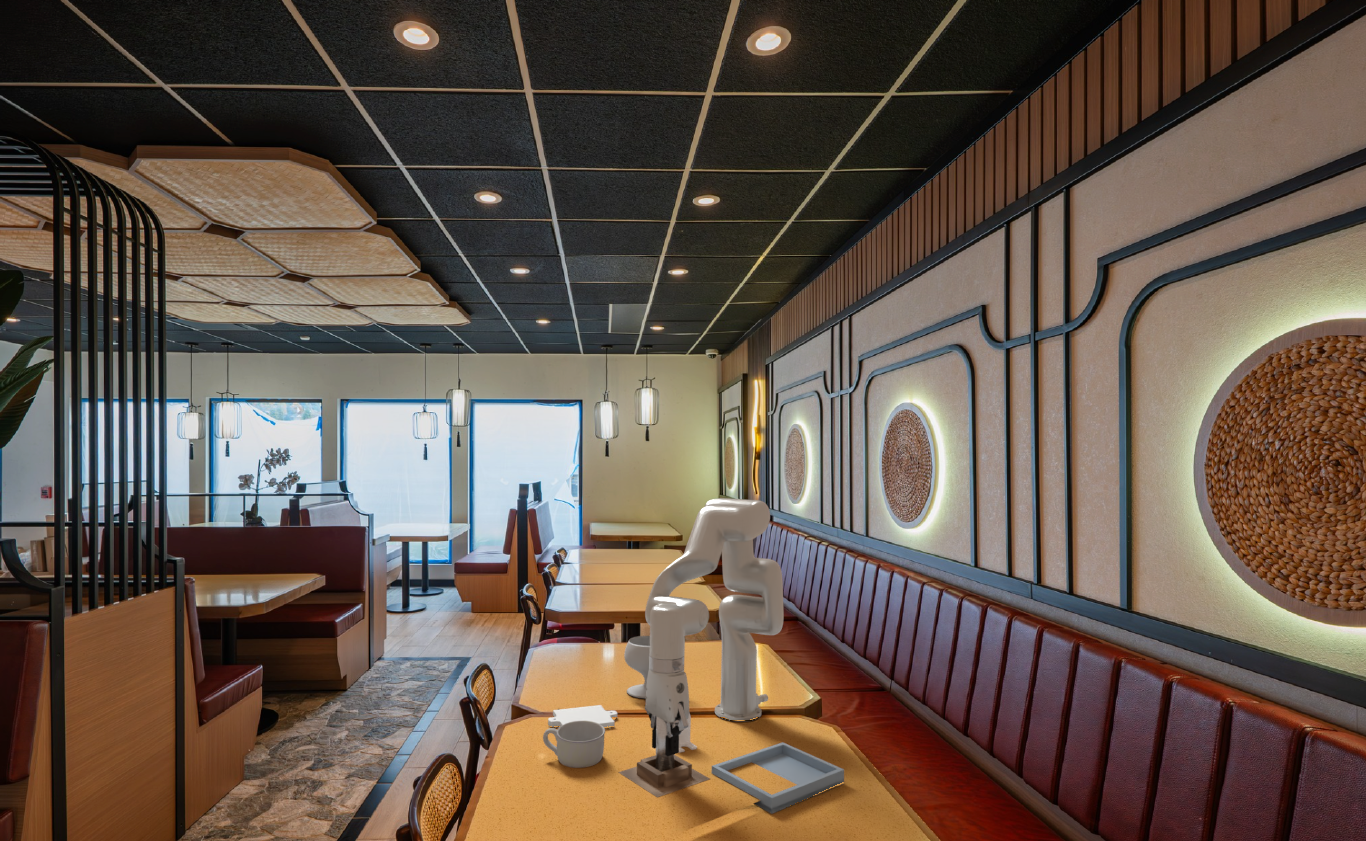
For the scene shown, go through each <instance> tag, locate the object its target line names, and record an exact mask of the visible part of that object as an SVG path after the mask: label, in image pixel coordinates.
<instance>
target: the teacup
mask: <svg viewBox="0 0 1366 841" xmlns="http://www.w3.org/2000/svg"><path fill="white" fill-rule="evenodd" d="M549 734H551V735H552V734H553V736H554V737H555V738H554V739H555V741H556V745H554V744H553V743H552V742H551V741H550V740H549V737H548V735H549ZM605 734H606V729H605V728H604V727H603V726H602V725H600V724H598V723H596V722H592V721H573V722H569V723H566V724H564V725H562V726H561V727H557V729H556V727H555V728H550V727H548V728H547V729H546V730H544V732H543V736H542V740H543V743H544V745H545V747H547V748H548V749H550V750H551V751H552V752H554V754H555V756H556V757H557V760H558V761H559V763H560V764H561V765H563V766H565V767H568V768H573V769H574V768H575V769H577V768H579V769H580V768H581V769H583V768H588V767H591V766H595V765H597V764H598V763H599V762H601V760H602V759H603V755H604V750H605Z"/></svg>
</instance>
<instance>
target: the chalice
mask: <svg viewBox="0 0 1366 841" xmlns="http://www.w3.org/2000/svg"><path fill="white" fill-rule="evenodd" d="M624 649H625V650H624V654H623V656H624V661H625V663H626V665H627V666H628V667H630V668H631V669H632V670H634V671H637V672H638V673H639V674H641V676H643V680H644V682H643V684H636V685H632V686H630V687H628V688H627V689H626V694H628V695H629V696H632V697H633V698H637V699H638V698H639V699H646V686H647V677H648V671H649V655H650V635H638V636H633V637H631V638H630V639H629V640H628V642H627V643H626V646H625V648H624Z"/></svg>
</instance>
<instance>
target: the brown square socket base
mask: <svg viewBox="0 0 1366 841" xmlns="http://www.w3.org/2000/svg"><path fill="white" fill-rule="evenodd" d="M618 774H620V775H621V776H623V777H625V778H626V779H628V780H629V781H631V782H632V783H634V784H636V786H639V787H640V788H642V789H643V790H645V791H646V792H647V793H650V794H651V795H652V796H654V797H656V798H660V797H663V796H666V795H669V794H671V793H675V792H677V791H680V790H683V789H685V788H689V787H691V786H695V785H698V784H701V783H703V782H706V781H709V780H711V778H710V777H708V776H706V775H705V774H702V773H701V772H699V771H697V770H696V769H693V764H692V763H690V762H688V761H686V760H684V759H683V758H681V757H680V756H677V754H675V757H674V768H673V769H670V770H667V771H664V772H661V771H659V770H657V769H656V754H655V755H652V756H649V757H645V758H642V759H640V761H638V762H636V766H634V767H630V768H627V769H625V770H621V771H618Z"/></svg>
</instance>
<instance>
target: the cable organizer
mask: <svg viewBox="0 0 1366 841" xmlns="http://www.w3.org/2000/svg"><path fill="white" fill-rule="evenodd" d="M691 717H692V716H691V714H690V712H689V718H688V719H687V722H688V728H686V729H684V730H683V731H682V732H681V734H680V735H679V752H678V753H679V754H681V753H685V752H686V751H685V749H684V748H683V747H685V748H686V747H687V748H688V749H689V750H692V751H693V750H697V749H698V746H697V745H696V744H694V743H693V742H691V726H692V725H691V719H692V718H691Z"/></svg>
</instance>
